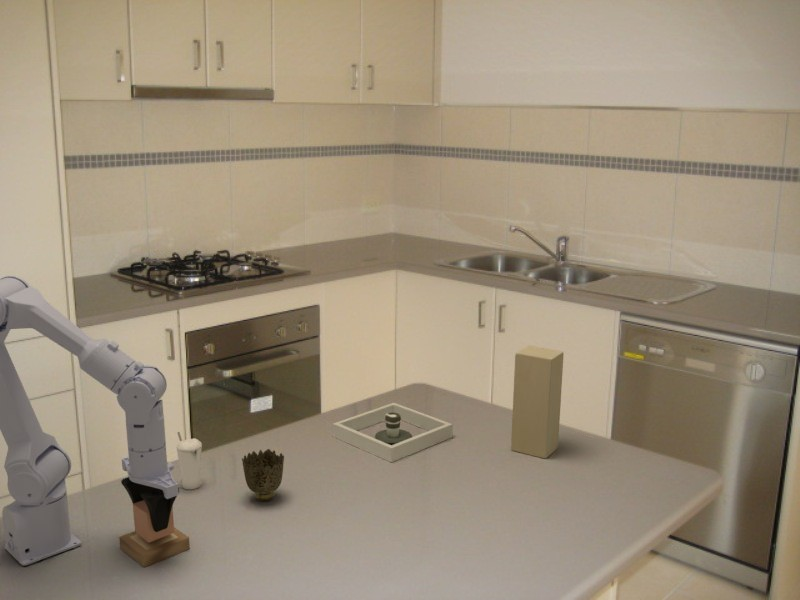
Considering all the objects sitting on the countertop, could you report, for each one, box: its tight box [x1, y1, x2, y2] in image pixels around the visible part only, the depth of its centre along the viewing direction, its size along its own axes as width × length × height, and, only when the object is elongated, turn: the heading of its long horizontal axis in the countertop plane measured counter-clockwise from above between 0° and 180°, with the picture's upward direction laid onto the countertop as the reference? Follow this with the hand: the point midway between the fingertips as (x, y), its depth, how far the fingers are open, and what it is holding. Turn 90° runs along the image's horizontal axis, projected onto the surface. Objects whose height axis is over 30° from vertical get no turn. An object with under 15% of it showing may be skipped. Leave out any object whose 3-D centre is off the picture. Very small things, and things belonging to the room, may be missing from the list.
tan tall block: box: [510, 345, 564, 459], centre depth 173 cm, size 8×7×21 cm
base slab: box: [118, 526, 191, 568], centre depth 137 cm, size 8×8×2 cm
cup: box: [241, 448, 285, 502], centre depth 153 cm, size 8×7×8 cm
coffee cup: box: [375, 413, 412, 444], centre depth 181 cm, size 12×12×5 cm
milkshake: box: [176, 431, 203, 490], centre depth 158 cm, size 4×5×10 cm
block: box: [132, 500, 175, 542], centre depth 136 cm, size 4×4×5 cm
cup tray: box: [332, 402, 454, 463], centre depth 181 cm, size 18×18×3 cm
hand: (152, 523), depth 136 cm, fingers closed on block, 4 cm apart
